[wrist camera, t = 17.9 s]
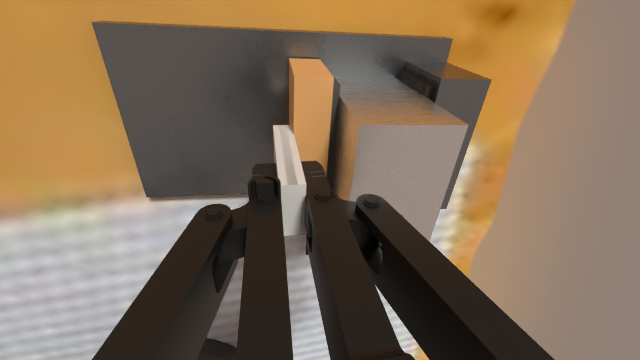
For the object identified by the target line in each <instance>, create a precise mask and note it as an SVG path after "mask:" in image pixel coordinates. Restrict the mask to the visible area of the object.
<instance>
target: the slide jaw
mask: <svg viewBox="0 0 640 360" xmlns="http://www.w3.org/2000/svg"><path fill="white" fill-rule="evenodd" d="M340 89H341V85H340V83H339V82H338V81H337V80H336V78H335V77H334V76H333V74H332V73H331V72H330V71H329V69H327V68H326V66H325V65H324V64H323V62H322V61H321V60H320V59H299V58H289V125H292V128H293V133H294V136H295V140H296V144H297V148H298V152H299V156H300V160H301V161H318V162H319V163H320V164H321V165H322V166H323V169H324V172H325V174H326V177H327V180H328V183H329V185H330V188H331V189H332V178H333V167H334V155H335V144H336V133H337V122H338V111H339V100H340Z"/></svg>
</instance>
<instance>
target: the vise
mask: <svg viewBox="0 0 640 360" xmlns="http://www.w3.org/2000/svg"><path fill="white" fill-rule="evenodd" d="M92 25H93V28H94V31H95V34H96V37H97V41H98V44H99V47H100V50H101V53H102V57H103V60H104V63H105V66H106V69H107V73H108V76H109V79H110V82H111V85H112V89H113V92H114V95H115V98H116V101H117V105H118V108H119V111H120V114H121V117H122V120H123V124H124V127H125V130H126V133H127V136H128V140H129V143H130V146H131V149H132V152H133V156H134V159H135V162H136V165H137V168H138V172H139V175H140V178H141V181H142V184H143V188H144V191H145V194H146V197H166V196H195V195H224V194H248V181H249V180H250V179H251V178H252V168H253V167H254V166H255V165H256V164H264V163H274V137H273V125H289V58H299V59H320V60H321V61H322V62H323V64H324V65H325V66H326V68H327V69H329V71H330V72H331V73H332V74H333V76H353V77H395V78H397V79H399V80H400V81H402V82H404V83H405V84H407V85H408V86H410V87H411V88H413V89H414V90H416V91H417V92H419V93H420V94H422V95H423V96H425V97H426V98H428V99H430V100H431V101H433V102H434V103H436V104H437V105H439V106H440V107H442V108H443V109H445V110H446V111H448V112H449V113H451V114H452V115H454V116H456V117H457V118H459V119H460V120H462V121H463V122H465V123H466V124H468V128H467V131H466V134H465V137H464V140H463V143H462V146H461V149H460V152H459V155H458V158H457V161H456V164H455V167H454V170H453V173H452V176H451V178H450V181H449V184H448V187H447V190H446V193H445V196H444V199H443V202H442V205H441V208H440V209H446V208H447V205H448V202H449V199H450V197H451V194H452V191H453V188H454V185H455V182H456V179H457V177H458V174H459V171H460V168H461V165H462V162H463V160H464V157H465V154H466V151H467V148H468V145H469V142H470V140H471V137H472V134H473V131H474V128H475V125H476V122H477V120H478V117H479V114H480V111H481V108H482V105H483V102H484V100H485V97H486V94H487V91H488V88H489V85H490V83H491V79H488V78H485V77H483V76H480V75H478V74H475V73H472V72H470V71H467V70H465V69H462V68H459V67H457V66H454V65H451V64H449V63H446V62H447V58H448V55H449V51H450V47H451V43H452V39H451V38H447V37H431V36H410V35H388V34H367V33H346V32H324V31H303V30H282V29H260V28H239V27H218V26H196V25H175V24H154V23H132V22H111V21H97V22H92Z"/></svg>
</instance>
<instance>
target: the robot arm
mask: <svg viewBox="0 0 640 360" xmlns="http://www.w3.org/2000/svg"><path fill="white" fill-rule="evenodd" d="M273 137H274V163H264V164H256V165H255V166H254V167H253V168H252V178H251V179H250V180H249V181H248V195H249V202H248V203H247V204H246V205H244V206H242V207H240V208H237V209H234V210H231V209H230V208H229V207H228V206H226V205H223V204H212V205H208V206H205V207H203V208H201V209H200V210H199V211H198V212H197V213H196V215H195V216H194V217H193V219H192V220H191V222H190V223H189V224H188V226H187V227H186V229H185V230H184V231H183V233H182V234H181V236H180V237H179V238H178V240H177V241H176V243H175V244H174V245H173V247H172V248H171V250H170V251H169V252H168V254H167V255H166V257H165V258H164V259H163V261H162V262H161V264H160V265H159V267H158V268H157V269H156V271H155V272H154V274H153V275H152V276H151V278H150V279H149V281H148V282H147V283H146V285H145V286H144V288H143V289H142V290H141V292H140V293H139V295H138V296H137V297H136V299H135V300H134V302H133V303H132V304H131V306H130V307H129V309H128V310H127V311H126V313H125V314H124V316H123V317H122V318H121V320H120V321H119V323H118V324H117V325H116V327H115V328H114V330H113V331H112V332H111V334H110V335H109V337H108V338H107V339H106V341H105V342H104V344H103V345H102V346H101V348H100V349H99V351H98V352H97V353H96V355H95V356H94V358H93V359H92V360H293V350H292V337H291V323H290V310H289V297H288V283H287V270H286V257H285V243H284V236H291V235H303V234H305V229H306V255H308V254H309V258H310V263H311V268H312V273H313V278H314V282H315V287H316V292H317V297H318V302H319V306H320V311H321V316H322V321H323V326H324V330H325V335H326V340H327V345H328V350H329V354H330V359H331V360H415V359H414V358H413V357H412V355H411V354H407V353H404V351H403V350H402V349H401V347H400V345H399V342H398V340H397V338H396V335H395V333H394V330H393V328H392V325H391V323H390V321H389V318H388V316H387V313H386V311H385V308H384V306H383V304H382V301H381V299H380V296H379V294H378V292H377V289H376V287H375V285H376V286H377V288H378V289H379V291H380V292H381V293H382V295H383V296H384V297H385V299H386V300H387V302H388V303H389V304H390V306H391V307H392V309H393V310H394V311H395V313H396V314H397V315H398V317H399V318H400V320H401V321H402V322H403V324H404V325H405V326H406V328H407V329H408V331H409V332H410V333H411V335H412V336H413V338H414V339H415V340H416V342H417V343H418V344H419V346H420V347H421V349H422V350H423V351H424V353H425V354H426V355H427V357H428V358H429V360H554V359H553V358H552V357H551V356H550V355H549V354H548V353H547V352H546V351H545V350H544V349H543V348H541V347H540V346H539V345H538V344H537V343H536V342H535V341H534V340H533V339H532V338H531V337H530V336H529V335H527V333H526V332H525V331H523V330H522V329H521V328H520V327H519V326H518V325H517V324H516V323H515V322H514V321H513V320H512V319H510V318H509V316H508V315H506V313H504V312H503V311H502V310H501V309H500V308H499V307H498V306H497V305H496V304H495V303H494V302H493V301H492V300H491V299H490V298H488V297H487V296H486V295H485V294H484V293H483V292H482V291H481V290H480V289H479V288H478V287H477V286H476V285H475V284H474V283H473V282H471V280H469V279H468V278H467V277H466V276H465V275H464V274H463V273H462V272H461V271H460V270H459V269H458V268H457V267H456V266H455V265H454V264H452V263H451V262H450V261H449V260H448V259H447V258H446V257H445V256H444V255H443V254H442V253H441V252H440V251H439V250H438V249H437V248H436V247H434V246H433V245H432V244H431V243H430V242H429V241H428V240H427V239H426V238H425V237H424V236H423V235H422V234H421V233H420V232H419V231H417V230H416V229H415V228H414V227H413V226H412V225H411V224H410V223H409V222H408V221H407V220H406V219H405V218H404V217H403V216H402V215H401V214H399V213H398V212H397V211H396V210H395V209H394V208H393V207H392V206H391V205H390V204H389V203H388V202H387V201H386V200H385V199H383V198H382V197H380V196H378V195H375V194H363V195H360V196H359V197H358V198H357V199H356V202H353V201H346V200H342V199H340V198H339V197H338V195H337V194H336V192H335V191H333V190H331V188H330V185H329V183H328V180H327V177H326V174H325V172H324V169H323V166H322V165H321V164H320V163H319V162H318V161H301V160H300V156H299V152H298V148H297V144H296V140H295V136H294V133H293V128H292V125H273ZM242 257H244V269H243V281H242V293H241V306H240V318H239V330H238V342H237V350H236V349H235V348H233V347H231V346H229V345H226V344H224V343H221V342H217V341H213V340H207V339H206V336H207V334H208V332H209V329H210V327H211V325H212V322H213V320H214V318H215V315H216V313H217V310H218V308H219V306H220V303H221V301H222V299H223V296H224V294H225V292H226V289H227V287H228V284H229V282H230V280H231V277H232V275H233V273H234V270H235V268H236V266H237V263H238V259H239V258H242Z"/></svg>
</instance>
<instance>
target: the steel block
mask: <svg viewBox="0 0 640 360" xmlns="http://www.w3.org/2000/svg"><path fill="white" fill-rule="evenodd" d="M334 77H335V78H336V80H337V81H338V82H339V83H340V85H341V89H340V100H339V111H338V122H337V133H336V144H335V155H334V167H333V178H332V189H331V190H333V191H335V192H336V194H337V195H338V197H339V198H340V199H342V200H346V201H353V202H356V199H357V198H358V197H359V196H360V195H363V194H375V195H378V196H380V197H382V198H383V199H385V200H386V201H387V202H388V203H389V204H390V205H391V206H392V207H393V208H394V209H395V210H396V211H397V212H398V213H399V214H401V215H402V216H403V217H404V218H405V219H406V220H407V221H408V222H409V223H410V224H411V225H412V226H413V227H414V228H415V229H416V230H417V231H419V232H420V233H421V234H422V235H423V236H424V237H425V238H426V239H427V240H428V241H430V238H431V235H432V232H433V229H434V226H435V223H436V220H437V217H438V214H439V211H440V208H441V205H442V202H443V199H444V196H445V193H446V190H447V187H448V184H449V181H450V178H451V176H452V173H453V170H454V167H455V164H456V161H457V158H458V155H459V152H460V149H461V146H462V143H463V140H464V137H465V134H466V131H467V128H468V124H466V123H465V122H463V121H462V120H460V119H459V118H457V117H456V116H454V115H452V114H451V113H449V112H448V111H446V110H445V109H443V108H442V107H440V106H439V105H437V104H436V103H434V102H433V101H431V100H430V99H428V98H426V97H425V96H423V95H422V94H420V93H419V92H417V91H416V90H414V89H413V88H411V87H410V86H408V85H407V84H405V83H404V82H402V81H400V80H399V79H397V78H395V77H353V76H334Z"/></svg>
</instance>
